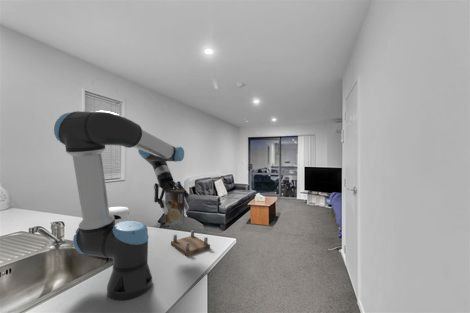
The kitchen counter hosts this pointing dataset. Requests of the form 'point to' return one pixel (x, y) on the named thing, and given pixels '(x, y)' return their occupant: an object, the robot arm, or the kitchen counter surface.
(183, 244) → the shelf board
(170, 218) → the coffee box
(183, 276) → the kitchen counter surface
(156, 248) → the kitchen counter surface
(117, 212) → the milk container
